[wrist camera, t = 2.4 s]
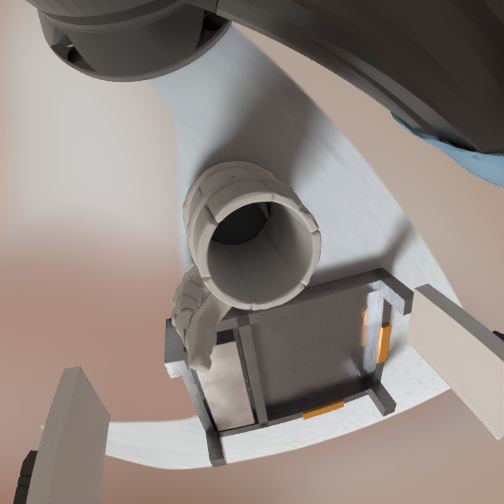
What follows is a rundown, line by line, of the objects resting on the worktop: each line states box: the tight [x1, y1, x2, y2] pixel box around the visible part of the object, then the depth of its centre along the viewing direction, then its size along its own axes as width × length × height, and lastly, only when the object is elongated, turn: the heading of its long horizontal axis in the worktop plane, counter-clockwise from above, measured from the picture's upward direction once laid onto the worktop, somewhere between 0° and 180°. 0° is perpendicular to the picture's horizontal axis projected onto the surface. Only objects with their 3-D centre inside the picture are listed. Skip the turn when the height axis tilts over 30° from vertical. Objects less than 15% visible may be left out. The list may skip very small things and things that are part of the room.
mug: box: [172, 161, 321, 373], centre depth 19 cm, size 8×12×12 cm, turn 144°
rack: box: [165, 268, 414, 467], centre depth 29 cm, size 16×21×6 cm
